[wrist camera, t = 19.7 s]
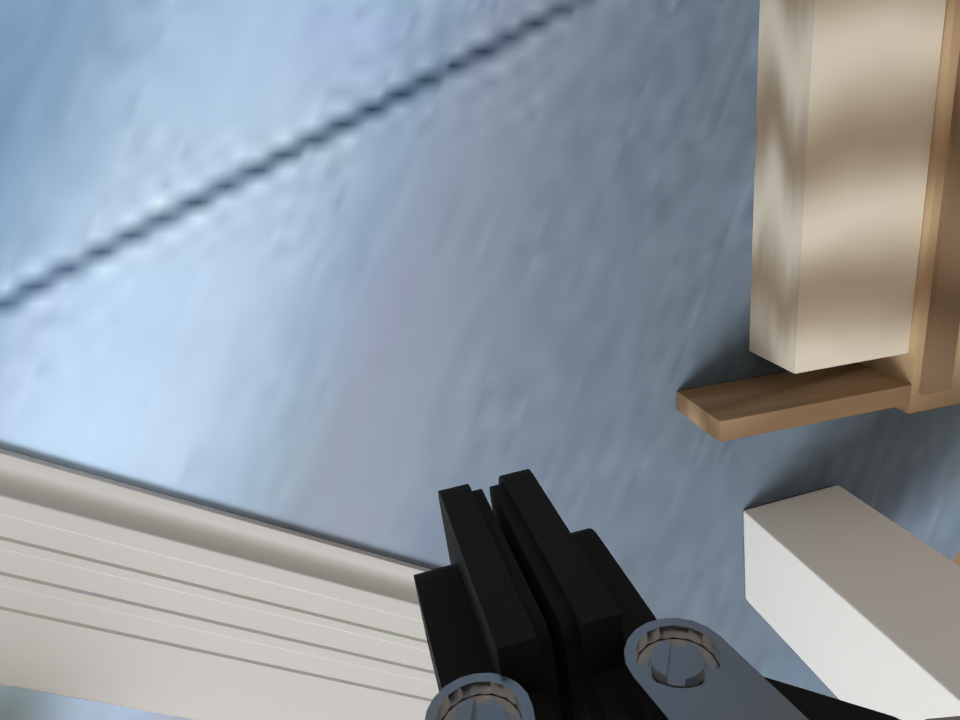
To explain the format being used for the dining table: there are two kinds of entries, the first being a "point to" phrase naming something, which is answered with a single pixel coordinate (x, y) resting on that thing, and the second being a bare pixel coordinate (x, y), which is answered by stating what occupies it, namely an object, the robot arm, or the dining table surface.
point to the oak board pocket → (934, 328)
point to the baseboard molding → (198, 607)
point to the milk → (858, 601)
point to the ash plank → (840, 176)
